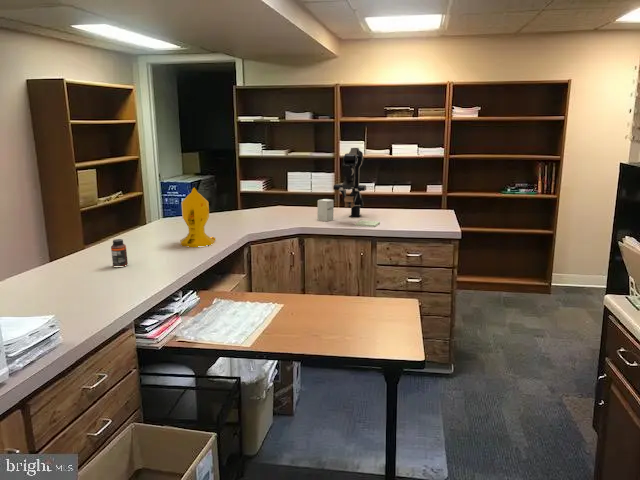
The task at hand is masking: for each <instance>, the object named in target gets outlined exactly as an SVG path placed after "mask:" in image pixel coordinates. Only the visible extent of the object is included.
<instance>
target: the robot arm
mask: <svg viewBox="0 0 640 480" xmlns="http://www.w3.org/2000/svg"><path fill="white" fill-rule="evenodd" d="M363 162H364V154H363V151H361V150H360V148H359V147H350V151H349V152H346V153H345V154H344V155H343V157H342V167H344V168H343V170H342V172H341V173H342V176H343V177H344V181H343V182H342V184H341V183H335V184H333V188H332V189H333V191H334V190H335V191H338V192H339V193H341V195H342V198H343V199H344V197H346V196H347V190H348V191H349V190H351V192H350V194H349V196H351V197H354V199H353V201H354V207H353V208H351V202H349V208H350V214H349V218H350V217H353V218H355V217H356V218H360V217H361V216H362V214H361V208H364V201H363V198H362V194H361V192H365V191H367V186H366V185H365V184H360V168H361V166H362V165H363Z"/></svg>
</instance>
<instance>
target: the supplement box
mask: <svg viewBox="0 0 640 480" xmlns="http://www.w3.org/2000/svg"><path fill="white" fill-rule="evenodd" d="M316 214H317V221H320V220H321V221H320V222H329V221H334V199H329V198H323V199H318V200H317V213H316Z"/></svg>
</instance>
